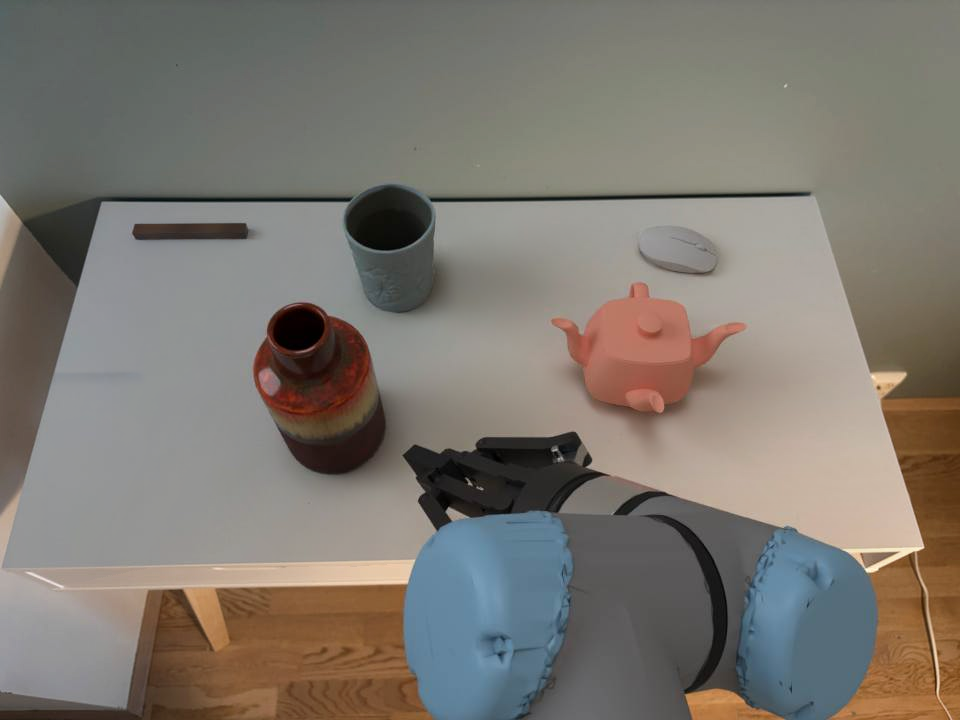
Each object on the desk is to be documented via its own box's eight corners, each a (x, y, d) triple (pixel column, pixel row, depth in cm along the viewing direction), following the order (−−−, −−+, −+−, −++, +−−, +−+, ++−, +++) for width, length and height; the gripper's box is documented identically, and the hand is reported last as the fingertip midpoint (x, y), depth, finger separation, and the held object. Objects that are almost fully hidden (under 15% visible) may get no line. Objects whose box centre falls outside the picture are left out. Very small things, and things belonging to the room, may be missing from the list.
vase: (281, 395, 82) (229, 288, 64) (377, 376, 83) (352, 266, 65) (291, 485, 76) (238, 395, 59) (393, 463, 78) (371, 368, 60)
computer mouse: (713, 280, 90) (720, 265, 88) (633, 265, 91) (638, 250, 89) (716, 243, 93) (723, 228, 91) (638, 230, 94) (643, 214, 92)
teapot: (718, 374, 84) (750, 322, 74) (638, 455, 79) (662, 410, 69) (621, 298, 89) (639, 241, 79) (540, 370, 84) (549, 317, 74)
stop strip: (248, 228, 94) (245, 222, 93) (246, 238, 93) (244, 232, 92) (138, 229, 93) (134, 223, 92) (135, 239, 93) (131, 233, 92)
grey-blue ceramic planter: (363, 323, 87) (349, 260, 76) (351, 257, 92) (335, 189, 81) (447, 307, 88) (444, 243, 78) (430, 243, 93) (425, 174, 82)
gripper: (551, 664, 42) (384, 545, 62) (686, 506, 46) (490, 443, 67) (485, 575, 39) (333, 481, 59) (636, 416, 44) (448, 379, 64)
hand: (417, 461), depth 63 cm, fingers closed
